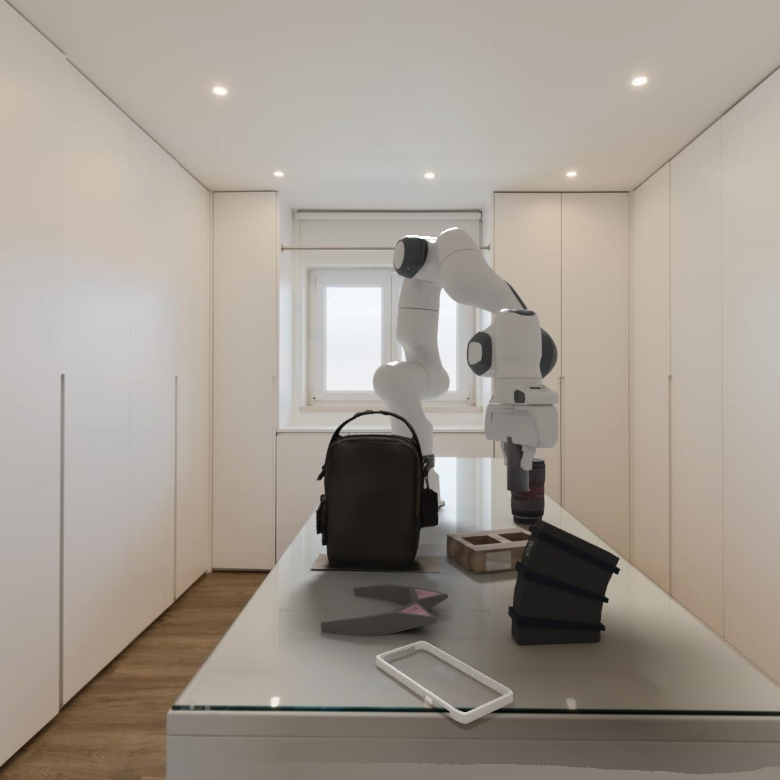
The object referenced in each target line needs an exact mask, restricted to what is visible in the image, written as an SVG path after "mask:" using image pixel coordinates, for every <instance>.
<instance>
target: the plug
mask: <svg viewBox="0 0 780 780" xmlns="http://www.w3.org/2000/svg"><path fill="white" fill-rule="evenodd" d="M523 453H524V451H522V445H518V444H514V443H513V442H512V437H507V466H506V490H507V491H509V492H511V491H515V492H525V491H529V470H522V469H520V468H519V466H520V464H519V460H522V457H523Z"/></svg>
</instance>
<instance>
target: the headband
mask: <svg viewBox="0 0 780 780" xmlns="http://www.w3.org/2000/svg"><path fill="white" fill-rule="evenodd" d="M353 595H354V597H360V598H369V599H373V600H374V599H375V600H383V601H389V602H392V603H395V604H400V605H403V606H401V607H398V608H397V609H394V610H392V611H387V612H381V613H376V614H370V615H364V616H363V615H362V616H358V617H351V618H343V619H342V618H341V619H335V620H329V621H322V622H320V629H321V633H327V634H335V635H336V634H338V635H345V636H346V635H347V636H357V637H372V636H378V635H379V636H380V635H387V634H394V633H399V632H402V631H406V630H411V629H414V628H415V629H416V628H419V627H423V626H428V625H432V624H436V623H437V622H438V621H437V617H436V616H435V615H434V614H432V613H431V612H430V611H429V610H430V609H433V607H435V606H437V605H439V604H440V603H442V602H443V601H446V600H447V599H448V598H449V594H448V593H446V592H440V591H435V590H429V589H425V588H424V589H423V588H418V587H415V586H414V587H413V586H405V585H398V584H397V585H396V584H378V585H377V584H376V585H367V586H358V587H353Z"/></svg>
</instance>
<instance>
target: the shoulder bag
mask: <svg viewBox="0 0 780 780" xmlns="http://www.w3.org/2000/svg"><path fill="white" fill-rule="evenodd" d="M374 414H375V415H377V414H379V415H383V416H389V415H390V416H393V417H395V418H397V419H400V420H401V421H403V422H404V423H405V424H406V425H407V427H408V428H409V429H410V431H411V433H412V434H413V436H412V438H409V437H403V436H399V435H394V434H392V433H391V434H386V433H385V434H383V433H382V434H381V433H368V434H366V433H364V434H358V433H357V434H347V435H340V433H341V431H342V430H343V428H345V426H346V425H347V424H349V423H351V422H352V421H354V420H356V419H357V418H360V417H362V416H367V415H368V416H369V415H374ZM427 459H428V460H427ZM426 461H427V464H426V466H425V467H424V464H425V463H426ZM429 461H430V457H427V458H426V459H425V461H424V462H423V457H422V452H421V447H420V443H419V439H418V436H417V434H416V432H415V430H414V428H413V427H412V425H411V424H410V423H409V422H408V421H407V420H406V419H405V418H403V417H402V416H400V415H398V414H396V413H393V412H389V411H387V410H381V409H380V410H373V409H366V410H364V411H358V412H356V413H354V415H353V416H352V417H350V418H348V419H346V420H344V421H343V422H342V423H341V424H340V425H338V427H337V428H336V429H335V431H334V432H333V434H332V436H331V438H330V441H329V443H328V447H327V449H326V454H325V459H324V464H323V465H322V466H321V472H320V473H318V475H317V478H316V481H318V482H319V481H322V480H323V486H324V493H322V494H320V496H319V501H320V503H319V504H318V507H317V509H315V514H316V516H315V523H316V524H315V529H316V530H315V531H316V535H319V534H320V535H321V545H322V546H323V547H325V549H326V553H319V555H318V556H317V558H316V559H315V561H314V562H313V564H312V565H311V567H310V569H311V570H334V571H335V570H336V571H338V570H339V571H342V570H343V571H363V572H364V571H368V572H370V571H371V572H373V571H374V572H400V573H401V572H403V573H431V574H432V573H433V574H437V573H440V572H441V569H440V562H439V560H440V559H439V558H438V556H437V557H436V556H435V557H434V556H417V553H418V550H419V545H420V537H421V535H420V534H421V530H422V529H424V528H429V527H431V528H433V527H437V526H439V525H438V524H439V507H438V493H437V492H434V491H433V490H432V489H429V483H428V482H429V481H428V471H427V469H426V468H427V467H428V465H429ZM425 475H426V476H425ZM426 477H427V479H426ZM323 478H324V479H323ZM424 478H425V481H426V484H427V488H426V489H424Z"/></svg>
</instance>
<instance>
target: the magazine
mask: <svg viewBox="0 0 780 780" xmlns="http://www.w3.org/2000/svg"><path fill="white" fill-rule="evenodd" d="M527 531H529V532H531V535H530V537H529V540H528V542H527V544H526V546H525V549H524V553H523V557H522V560H521V562H519V561H517V562H516V566H515V569H516V571H517V575H516V581H515V585H514V589H513V596H512V597H513V598H512V599H513V600H512V606H511V605H509V606H508V607H507V611H508V612H507V614H508V616H509V618H510V619H511V637H512V638H513V639H514V641H515V642H516V643H517V645H520V646H521V645H522V646H523V645H524V646H525V645H526V646H527V645H547V644H548V645H551V644H552V645H553V644H571V643H572V644H575V643H579V644H580V643H600V642H601V639H602V638H601V633H602V632H605V631H606V625H605V624H603V623H602V613H603V605H604V603H605V604H609V602H610V599H609V597H607V596H606V594H607V589H608V585H609V583H610V580H611V579H612V577H613V575H614V574H615V575H619V573H620V571H621V568H619V567H618V564H619V561H620V557H619V556H616V555H615V554H613V553H612V552H610V551H608V550H606V549H603V548H602V547H600V546H598V545H595V544H593V543H591V542H590V541H587V540H585V539H583V538H581V537H578V536H576V535H574V534H572V533H569V532H568V531H566V530H563V529H561V528H559V527H557V526H555V525H553V524H551V523H548V522H547V521H544V520H543V519H542V520H541V519H538V520H537V522H536V524H529V527H528V529H527Z"/></svg>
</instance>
